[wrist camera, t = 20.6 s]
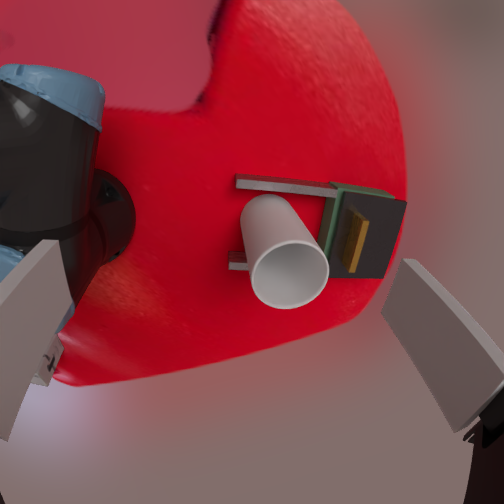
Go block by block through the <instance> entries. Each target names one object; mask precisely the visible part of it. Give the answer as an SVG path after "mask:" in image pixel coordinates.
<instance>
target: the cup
mask: <svg viewBox="0 0 504 504" xmlns="http://www.w3.org/2000/svg"><path fill="white" fill-rule="evenodd" d="M240 225H241V230H242V236H243V241H244V247H245V252H246V257H247V263H248V268H249V273H250V279H251V284H252V287H253V290H254V292H255V294H256V296H257V297H258V298H259V299H260V300H261V301H262V302H263V303H265V304H267V305H269V306H271V307H274V308H279V309H291V308H296V307H300V306H302V305H305V304H307V303H308V302H310V301H312V300H313V299H314V298H316V297H317V296H318V295H319V294H320V292H321V291H322V290H323V288H324V287H325V285H326V283H327V280H328V276H329V265H328V261H327V259H326V256H325V254H324V253H323V251H322V250H321V248H320V247H319V245H318V244H317V242H316V241H315V240H314V238H313V237H312V235H311V234H310V232H309V231H308V229H307V228H306V227H305V225H304V224H303V222H302V221H301V219H300V218H299V217H298V215H297V214H296V212H295V211H294V210H293V208H292V207H291V205H290V204H289V203H288V202H287V201H286V200H285V199H284V198H282V197H280V196H278V195H274V194H264V195H260V196H257V197H255V198H253V199H252V200H250V201H249V202H248V203H247V204H246V206H245V207H244V209H243V211H242V213H241V217H240Z"/></svg>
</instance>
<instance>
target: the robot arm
mask: <svg viewBox="0 0 504 504" xmlns="http://www.w3.org/2000/svg"><path fill="white" fill-rule="evenodd" d="M104 103H105V91H104V88H103V87H102V85H101V84H100V83H99V82H97V81H96V80H94V79H92V78H90V77H87V76H84V75H81V74H78V73H74V72H71V71H67V70H63V69H58V68H53V67H47V66H40V65H30V66H29V65H21V64H6V65H4V66H2V67H1V68H0V438H1V439H3V440H5V441H8V439H9V435H10V433H11V430H12V427H13V424H14V422H15V419H16V416H17V414H18V411H19V408H20V406H21V403H22V401H23V399H24V396H25V394H26V391H27V389H28V387H29V385H30V382H31V380H32V378H33V376H34V374H35V371H36V369H37V367H38V365H39V363H40V361H41V359H42V357H43V355H44V353H45V351H46V349H47V347H48V345H49V343H50V341H51V339H52V337H53V335H54V334H57V333H59V332H60V331H61V330H62V329H63V327H64V326H65V325H66V323H67V322H68V321H69V319H70V318H71V317H72V316H73V314H74V312H75V308H76V306H77V305H78V303H79V301H80V299H81V298H82V296H83V294H84V292H85V291H86V289H87V287H88V285H89V284H90V282H91V280H92V279H93V277H94V275H95V274H96V272H97V271H98V269H99V267H101V266H103V265H105V264H106V263H108V262H110V261H112V260H114V259H115V258H117V257H118V256H119V255H120V254H121V253H122V252H123V251H124V250H125V248H126V247H127V245H128V243H129V242H130V240H131V238H132V236H133V233H134V229H135V222H136V216H135V209H134V205H133V201H132V199H131V197H130V195H129V193H128V191H127V189H126V188H125V187H124V185H123V184H122V183H121V182H120V181H119V180H118V179H117V178H115V177H114V176H113V175H111V174H110V173H108V172H106V171H103V170H100V169H95V168H94V165H95V159H96V152H97V146H98V141H99V135H100V133H102V126H101V121H102V115H103V109H104ZM381 314H382V315H383V317H384V318H385V320H386V321H387V323H388V324H389V326H390V327H391V329H392V330H393V332H394V333H395V335H396V337H397V338H398V339H399V341H400V343H401V344H402V346H403V347H404V349H405V350H406V352H407V353H408V355H409V357H410V358H411V360H412V361H413V363H414V365H415V366H416V368H417V369H418V371H419V373H420V374H421V376H422V378H423V379H424V381H425V383H426V384H427V386H428V388H429V389H430V391H431V393H432V395H433V396H434V398H435V400H436V401H437V403H438V405H439V407H440V409H441V410H442V412H443V414H444V416H445V418H446V419H447V421H448V423H449V425H450V427H451V429H452V430H453V432H454V433H456V432H458V431H460V430H462V429H463V428H465V427H467V426H468V425H469V424H470V423H471V422H472V421H473V420H474V419H475V418H476V417H477V416H478V415H479V417H480V419H481V420H480V421H479V422H478V423H477V424H476V425H474V426H473V427H472V429H470V430H469V431H468V432H467V433H466V434H465V435H464V438H463V441H465V440H467V439H468V438H469V437H470V436H471V435H472V434H473V433H474V435H473V436H472V437H471V438H470V439H469V441H468V442H469V443H473V444H474V448H473V455H472V463H471V469H470V475H469V480H468V485H467V490H466V495H465V499H464V503H463V504H504V354H503V353H502V351H501V350H500V349H499V348H498V346H497V345H496V344H495V343H494V342H493V340H492V339H491V338H490V337H489V336H488V334H487V333H486V332H485V331H484V330H483V329H482V328H481V326H480V325H479V324H478V323H477V322H476V321H475V320H474V318H473V317H472V316H471V315H470V314H469V313H468V312H467V311H466V310H465V309H464V308H463V307H462V305H461V304H460V303H459V302H458V301H457V300H456V299H455V298H454V297H453V296H452V295H451V294H450V293H449V292H448V291H447V290H446V289H445V288H444V287H443V286H442V285H441V284H440V283H439V282H438V281H437V280H436V279H435V278H434V277H433V276H432V275H431V274H430V273H429V272H428V271H427V270H426V269H425V268H424V267H423V266H422V265H421V264H420V263H419V262H418V261H417V260H415V259H402V260H401V262H400V265H399V268H398V271H397V273H396V276H395V279H394V281H393V284H392V286H391V289H390V291H389V294H388V296H387V299H386V301H385V304H384V306H383V308H382V311H381ZM0 504H5V502H4V500H3V498H2V495H1V493H0Z"/></svg>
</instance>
